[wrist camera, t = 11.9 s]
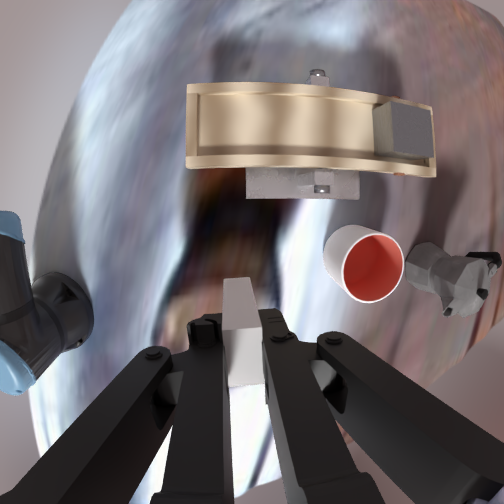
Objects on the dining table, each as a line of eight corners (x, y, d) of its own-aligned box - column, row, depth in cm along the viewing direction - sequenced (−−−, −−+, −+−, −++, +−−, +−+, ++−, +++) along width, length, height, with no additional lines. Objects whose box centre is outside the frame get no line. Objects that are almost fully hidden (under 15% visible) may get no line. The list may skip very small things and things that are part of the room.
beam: (190, 171, 34) (185, 169, 31) (191, 91, 32) (187, 82, 29) (422, 179, 36) (436, 179, 32) (418, 109, 34) (431, 105, 30)
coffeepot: (405, 303, 50) (461, 345, 32) (388, 264, 48) (449, 299, 30) (458, 258, 49) (519, 283, 31) (444, 219, 47) (511, 234, 29)
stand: (246, 198, 44) (249, 200, 34) (245, 87, 41) (247, 59, 30) (356, 199, 45) (388, 203, 35) (353, 95, 42) (381, 74, 31)
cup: (324, 221, 46) (346, 229, 36) (378, 226, 46) (409, 235, 37) (317, 281, 48) (336, 303, 38) (370, 282, 48) (397, 302, 39)
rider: (374, 155, 33) (393, 151, 28) (371, 110, 31) (390, 100, 27) (412, 160, 33) (433, 157, 28) (409, 117, 32) (430, 110, 27)
